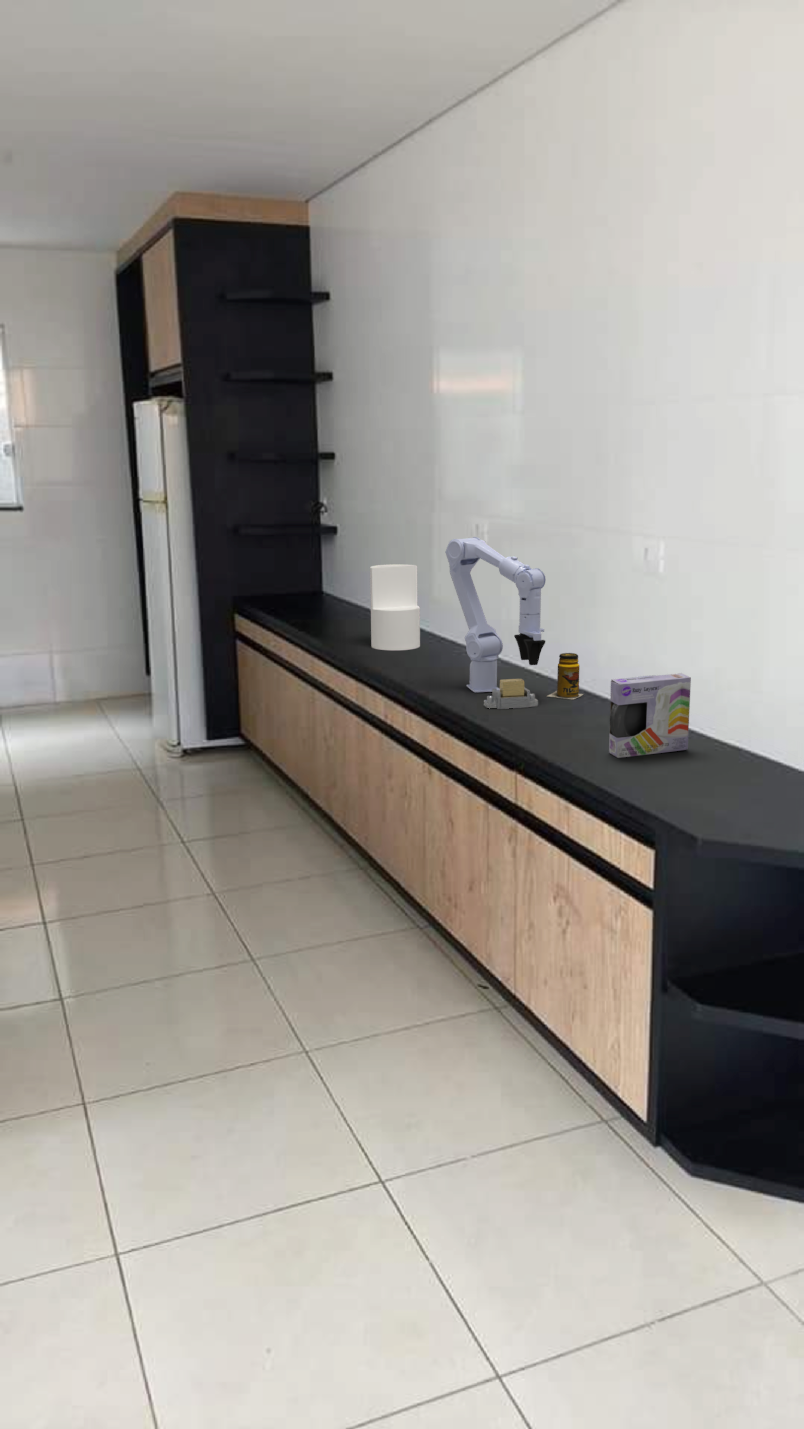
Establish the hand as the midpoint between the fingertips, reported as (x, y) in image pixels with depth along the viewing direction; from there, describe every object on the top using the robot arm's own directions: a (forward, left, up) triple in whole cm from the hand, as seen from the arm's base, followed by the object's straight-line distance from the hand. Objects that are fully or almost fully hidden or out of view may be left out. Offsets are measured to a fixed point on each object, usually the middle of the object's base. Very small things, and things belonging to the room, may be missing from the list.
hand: (529, 662), depth 312 cm
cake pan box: (+61, +9, -10) cm, 63 cm away
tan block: (+8, -7, -9) cm, 14 cm away
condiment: (-1, +11, -10) cm, 15 cm away
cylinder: (-93, -20, -10) cm, 96 cm away
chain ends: (+8, -8, -10) cm, 15 cm away
